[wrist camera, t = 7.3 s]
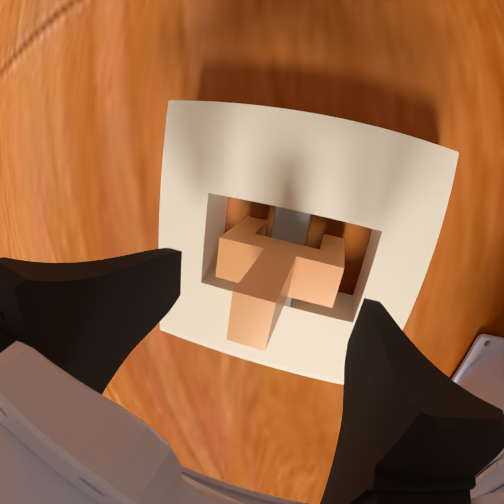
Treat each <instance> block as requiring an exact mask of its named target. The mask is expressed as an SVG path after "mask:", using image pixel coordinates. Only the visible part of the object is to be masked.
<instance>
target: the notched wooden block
mask: <svg viewBox="0 0 504 504" xmlns="http://www.w3.org/2000/svg"><path fill="white" fill-rule="evenodd" d="M267 221H268V220H264V219H259V218H255V217H250V216H246V217H245V218H244V219H242V220H241V221H240V222H239V223H237V224H236V225H235V226H233V227H232V228H231V229H230V230H228V231H227V232H226V233H224V234H223V235H222V236H221V237H219V247H218V256H217V266H216V276H215V277H218V278H222V279H225V280H229V281H232V282H236V283H238V285H237V286H236V287H235V289H234V290H233V292H232V300H231V308H230V316H229V324H228V332H227V340H230V341H233V342H236V343H239V344H243V345H246V346H249V347H253V348H256V349H259V350H263V351H265V350H266V348H267V345H268V343H269V341H270V338H271V336H272V333H273V331H274V329H275V326H276V324H277V321H278V319H279V316H280V314H281V311H282V309H283V306H284V304H285V301H286V299H287V297H291V298H295V299H299V300H303V301H306V302H310V303H314V304H318V305H322V306H326V307H330V308H332V307H333V304H334V301H335V298H336V295H337V291H338V288H339V285H340V281H341V278H342V275H343V271H344V262H345V239H344V238H340V237H336V236H332V235H327V234H323V239H322V243H321V247H320V249H316V248H312V247H308V246H304V245H300V244H295V243H291V242H287V241H283V240H279V239H275V238H271V237H266V236H265V233H266V227H267Z"/></svg>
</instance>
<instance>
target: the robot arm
mask: <svg viewBox="0 0 504 504" xmlns="http://www.w3.org/2000/svg"><path fill="white" fill-rule="evenodd" d="M181 261H182V251H179V250H175V249H171V248H161V249H155V250H149V251H144V252H140V253H135V254H130V255H125V256H120V257H115V258H109V259H104V260H97V261H89V262H78V263H41V262H29V261H22V260H16V259H10V258H5V257H4V258H0V504H309V503H303V502H298V501H293V500H288V499H284V498H279V497H275V496H271V495H267V494H263V493H260V492H256V491H252V490H249V489H245V488H242V487H239V486H236V485H233V484H229V483H226V482H224V481H221V480H218V479H215V478H212V477H209V476H207V475H204V474H201V473H199V472H196V471H194V470H191V469H189V468H186V467H184V466H182V465H180V462H179V460H178V458H177V456H176V455H175V453H174V451H173V449H172V448H171V446H170V444H169V443H168V442H167V441H166V440H165V439H164V438H162V437H161V436H160V435H159V434H158V433H157V432H156V431H155V430H154V429H153V428H152V427H151V426H150V425H149V424H147V423H146V422H144V421H143V420H141V419H140V418H138V417H137V416H135V415H134V414H132V413H131V412H129V411H128V410H126V409H125V408H123V407H122V406H120V405H118V404H117V403H115V402H113V401H111V400H110V399H108V398H106V397H104V396H103V395H102V393H103V392H104V390H105V388H106V387H107V385H108V383H109V382H110V380H111V379H112V377H113V376H114V374H115V373H116V371H117V370H118V368H119V367H120V366H121V364H122V363H123V362H124V360H125V359H126V358H127V356H128V355H129V354H130V352H131V351H132V350H133V349H134V348H135V347H136V345H137V344H138V343H139V342H140V341H141V340H142V339H143V338H144V337H145V336H146V335H147V334H148V333H149V332H150V331H151V330H152V329H153V328H154V327H155V326H156V325H157V324H158V323H159V322H160V321H161V320H162V319H163V318H164V317H165V316H166V314H167V313H168V312H169V311H170V310H171V308H172V307H173V305H174V304H175V303H176V301H177V300H178V298H179V297H180V294H181ZM486 341H488V342H487V343H485V342H486ZM320 504H504V338H502V337H497V336H492V335H487V334H481V335H479V336H478V337H477V338H476V340H475V341H474V343H473V345H472V347H471V348H470V350H469V352H468V354H467V355H466V357H465V359H464V360H463V362H462V363H461V365H460V367H459V368H458V370H457V371H456V373H455V375H454V376H453V378H452V379H450V378H449V377H448V376H446V375H445V374H444V373H443V372H441V371H440V370H439V369H438V368H437V367H436V366H434V365H433V364H432V363H431V362H430V361H429V360H428V359H427V358H426V357H425V356H424V355H423V354H422V353H421V352H420V351H419V350H418V349H417V347H416V346H415V345H414V344H413V343H412V342H411V341H410V339H409V338H408V337H407V336H406V335H405V333H404V332H403V331H402V330H401V328H400V327H399V326H398V324H397V323H396V322H395V320H394V319H393V318H392V316H391V315H390V314H389V312H388V311H387V310H386V308H385V307H384V306H383V305H382V304H381V303H380V302H379V301H375V300H371V299H366V298H364V300H363V303H362V306H361V308H360V311H359V314H358V317H357V319H356V322H355V325H354V327H353V330H352V333H351V335H350V338H349V340H348V344H347V351H346V357H345V365H344V396H343V414H342V423H341V428H340V433H339V438H338V443H337V447H336V452H335V456H334V460H333V464H332V468H331V471H330V475H329V478H328V481H327V485H326V488H325V491H324V494H323V497H322V500H321V503H320Z"/></svg>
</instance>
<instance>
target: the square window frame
mask: <svg viewBox="0 0 504 504" xmlns="http://www.w3.org/2000/svg"><path fill="white" fill-rule="evenodd" d="M458 155H459V152H457V151H454V150H451V149H448V148H446V147H443V146H440V145H437V144H434V143H431V142H428V141H425V140H422V139H419V138H415V137H412V136H409V135H406V134H402V133H399V132H395V131H391V130H388V129H384V128H380V127H376V126H372V125H368V124H364V123H360V122H356V121H351V120H347V119H342V118H337V117H332V116H327V115H322V114H316V113H310V112H304V111H298V110H291V109H285V108H277V107H269V106H261V105H251V104H241V103H229V102H213V101H191V100H169V102H168V110H167V119H166V128H165V138H164V149H163V161H162V174H161V190H160V211H159V249H161V248H171V249H175V250H179V251H182V261H181V294H180V297H179V298H178V300H177V301H176V303H175V304H174V305H173V307H172V308H171V310H170V311H169V312H168V313H167V314H166V316H165V317H164V318H163V319H162V320H161V321H160V330H162V331H164V332H167V333H170V334H172V335H175V336H177V337H180V338H183V339H186V340H188V341H191V342H194V343H197V344H200V345H202V346H205V347H208V348H211V349H214V350H217V351H220V352H223V353H226V354H229V355H233V356H236V357H239V358H242V359H245V360H249V361H252V362H255V363H259V364H262V365H266V366H269V367H273V368H276V369H280V370H284V371H287V372H291V373H295V374H299V375H303V376H307V377H311V378H315V379H319V380H324V381H328V382H333V383H337V384H342V385H344V365H345V357H346V351H347V344H348V340H349V338H350V335H351V333H352V330H353V327H354V325H355V322H356V319H357V317H358V314H359V311H360V308H361V306H362V303H363V300H364V298H366V299H371V300H375V301H379V302H380V303H381V304H382V305H383V306H384V307H385V308H386V310H387V311H388V312H389V314H390V315H391V316H392V318H393V319H394V320H395V322H396V323H397V324H398V326H399V327H400V328H401V330H403V328H404V326H405V324H406V322H407V319H408V317H409V315H410V312H411V310H412V308H413V305H414V303H415V301H416V298H417V296H418V293H419V291H420V288H421V285H422V283H423V280H424V278H425V275H426V272H427V269H428V267H429V264H430V261H431V258H432V255H433V252H434V249H435V246H436V243H437V240H438V236H439V233H440V230H441V227H442V223H443V220H444V216H445V212H446V209H447V205H448V201H449V197H450V193H451V189H452V184H453V180H454V175H455V170H456V165H457V160H458ZM229 197H233V198H238V199H243V200H248V201H253V202H258V203H263V204H267V205H272V206H276V210H275V216H274V222H273V228H272V234H271V238H275V239H279V240H283V241H287V242H291V243H295V244H300V245H304V246H306V241H307V236H308V232H309V227H310V222H311V217H312V214H313V215H318V216H322V217H326V218H330V219H335V220H339V221H343V222H347V223H351V224H355V225H359V226H363V227H367V228H371V229H372V232H371V236H370V239H369V243H368V247H367V250H366V254H365V257H364V261H363V264H362V267H361V271H360V274H359V277H358V280H357V284H356V287H355V290H354V293H353V295H349V294H345V293H341V292H337V295H336V298H335V301H334V304H333V307H332V308H330V307H326V306H322V305H318V304H314V303H310V302H306V301H303V300H299V299H295V298H291V297H287V299H286V301H285V304H284V306H283V309H282V311H281V314H280V316H279V319H278V321H277V324H276V326H275V329H274V331H273V333H272V336H271V338H270V341H269V343H268V345H267V348H266V350H265V351H263V350H259V349H256V348H253V347H249V346H246V345H243V344H239V343H236V342H233V341H230V340H227V332H228V324H229V316H230V308H231V300H232V292H233V290H234V289H235V287H236V286H237V285H238V283H236V282H232V281H229V280H225V279H222V278H218V277H215V276H216V266H217V256H218V247H219V237H221V236H222V235H223V234H224V233H225V224H226V215H227V206H228V198H229Z"/></svg>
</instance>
